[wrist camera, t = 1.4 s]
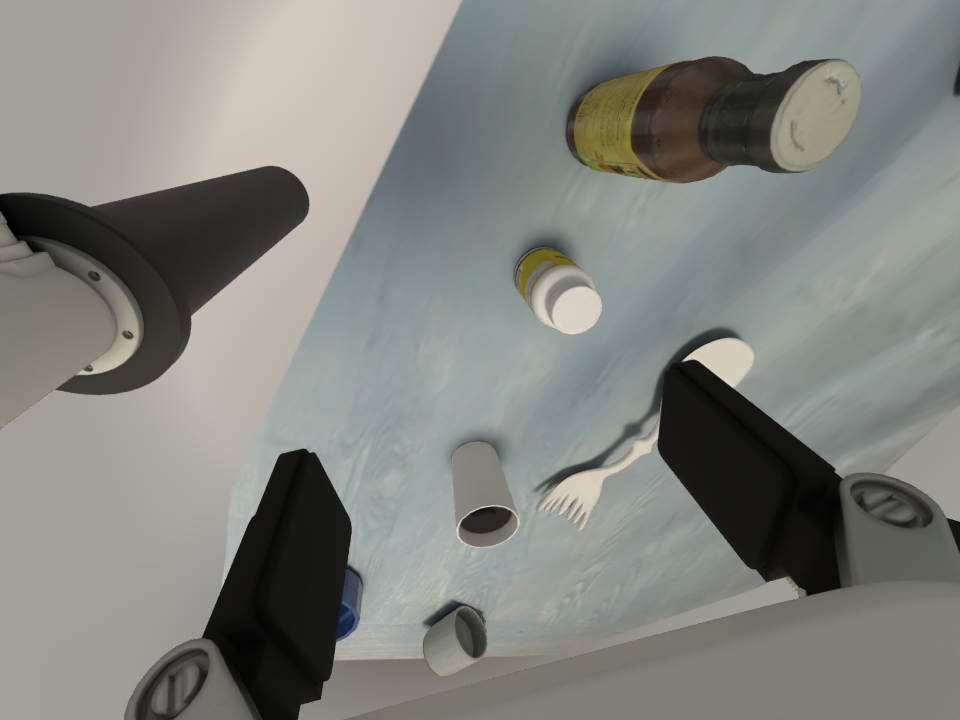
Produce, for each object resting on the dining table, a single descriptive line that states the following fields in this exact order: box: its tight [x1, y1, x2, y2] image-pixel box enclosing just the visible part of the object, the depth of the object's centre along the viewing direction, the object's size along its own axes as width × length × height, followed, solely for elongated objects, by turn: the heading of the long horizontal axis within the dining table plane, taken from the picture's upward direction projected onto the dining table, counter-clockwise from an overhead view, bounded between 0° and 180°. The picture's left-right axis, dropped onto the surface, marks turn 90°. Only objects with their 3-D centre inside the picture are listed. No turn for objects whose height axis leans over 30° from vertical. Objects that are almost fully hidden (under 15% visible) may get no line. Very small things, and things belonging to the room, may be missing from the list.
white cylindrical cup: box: [451, 441, 519, 548], centre depth 45 cm, size 7×7×10 cm
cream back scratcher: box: [536, 338, 754, 530], centre depth 49 cm, size 9×32×4 cm, turn 141°
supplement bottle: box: [514, 247, 602, 334], centre depth 34 cm, size 5×5×10 cm
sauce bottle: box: [567, 56, 862, 183], centre depth 24 cm, size 6×6×20 cm
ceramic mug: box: [423, 606, 487, 676], centre depth 64 cm, size 11×8×8 cm
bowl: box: [336, 569, 363, 642], centre depth 55 cm, size 12×12×5 cm
